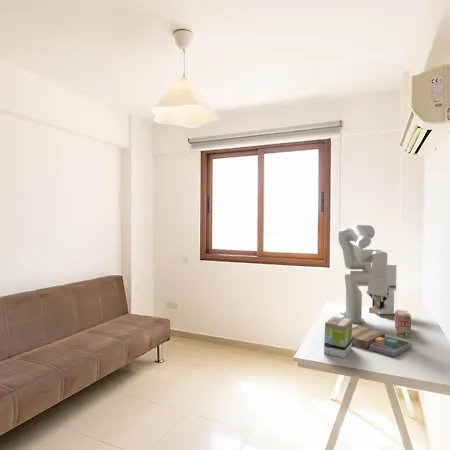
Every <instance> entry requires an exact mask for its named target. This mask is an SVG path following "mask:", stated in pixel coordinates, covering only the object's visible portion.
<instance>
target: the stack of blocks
mask: <svg viewBox="0 0 450 450" xmlns="http://www.w3.org/2000/svg"><path fill="white" fill-rule="evenodd" d="M394 314H395V317H394V328H395V331H396V334H397V337H398V338H405V339H407V338H408V339H411V338H412V333H411V332H412V315H411V313H410V312H409V311H408V310H403V309H402V310H401V309H396V310H394Z"/></svg>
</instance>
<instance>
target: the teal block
mask: <svg viewBox="0 0 450 450" xmlns="http://www.w3.org/2000/svg"><path fill="white" fill-rule="evenodd" d="M385 345H386V346H390V347H393V348H395V347H397V346H398V341H397V340H393V339H390V338H389V339H387V340H385Z"/></svg>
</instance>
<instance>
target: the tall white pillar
mask: <svg viewBox="0 0 450 450" xmlns="http://www.w3.org/2000/svg"><path fill="white" fill-rule="evenodd" d="M387 277H388V280H389V293H390V295H391V298H388V299H386V300H385V301H384V304H387V305H386V309H384V310H381V311H379V312H376V313H373V314H374V315H376V316H378V317H379V318H395V291H397V264H394V263H390V262H387ZM385 297H387V295H386V296H385ZM371 305H372V304H371ZM372 307H373V305H372Z"/></svg>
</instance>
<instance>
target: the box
mask: <svg viewBox="0 0 450 450" xmlns="http://www.w3.org/2000/svg"><path fill="white" fill-rule="evenodd" d="M389 338H390V339H393V340H397V341H398V346H397V347H395V348H393V347H390V346H386V345H384V348H380V347H376V346H375V343H373V344H370V345H369V349H368V351H372V352H375V353H378V354H379V355H380V354H381V355H383V356H388V357H391V358H394V359H395V358H397V357H398V356H400V355H402V354H404V353H405V352H407V351H408V350H410V349H412V344H413V343H412V342H409V341H407V340H402V339H399V338H398V339H397V338H394V337H391V336H385V340H387V339H389Z"/></svg>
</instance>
